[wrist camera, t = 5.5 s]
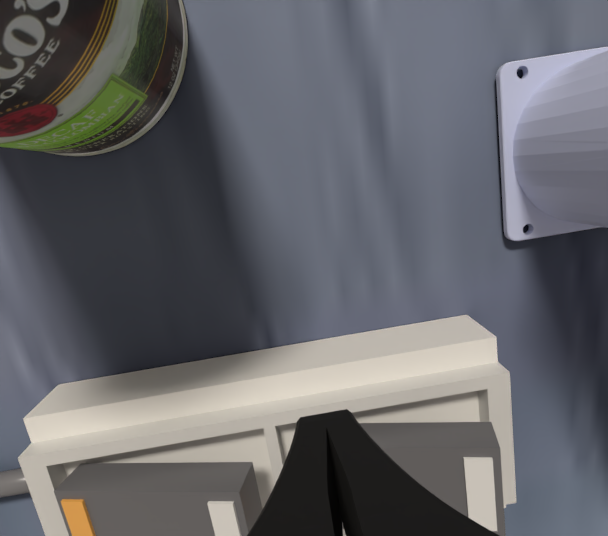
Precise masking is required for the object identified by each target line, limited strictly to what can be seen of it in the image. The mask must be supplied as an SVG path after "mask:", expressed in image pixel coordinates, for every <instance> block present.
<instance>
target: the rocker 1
mask: <svg viewBox="0 0 608 536" xmlns="http://www.w3.org/2000/svg"><path fill="white" fill-rule="evenodd" d="M54 494H55V496H56V499H57V502H58V505H59V508H60V511H61V514H62V517H63V520H64V523H65V525H66V528H67V531H68V534H69V536H247V535H248V533H249V532H250V530H251V528H252V527H253V525H254V523H255V522H256V520H257V518H258V517H259V515H260V513H261V511H262V510H263V509H262V504H261V499H260V495H259V490H258V485H257V481H256V476H255V471H254V467H253V462H186V463H81V464H80V465H79V466H78V467H77V468H76V469H75V470H74V471H73V472H72V473H71V474H70V475H69V476H68V477H67V478H66V479H65V480H64V481H63V482H62V483H61V484H60V485H59V486H58V487H57V488H56V489H55V490H54Z"/></svg>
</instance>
